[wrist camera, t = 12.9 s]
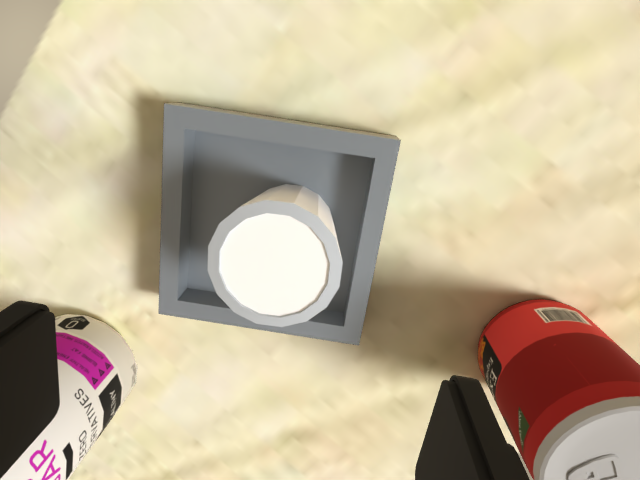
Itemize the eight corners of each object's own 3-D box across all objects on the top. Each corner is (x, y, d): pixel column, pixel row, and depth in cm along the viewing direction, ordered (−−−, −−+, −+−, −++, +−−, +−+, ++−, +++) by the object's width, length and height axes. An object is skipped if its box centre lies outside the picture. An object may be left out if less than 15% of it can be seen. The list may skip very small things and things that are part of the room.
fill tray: (180, 102, 27) (164, 103, 24) (395, 135, 27) (400, 140, 24) (172, 296, 31) (158, 313, 29) (357, 326, 31) (358, 345, 29)
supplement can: (16, 324, 33) (-238, 503, 18) (113, 297, 31) (-79, 467, 17) (67, 410, 35) (-124, 628, 21) (159, 388, 34) (23, 603, 20)
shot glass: (246, 278, 30) (217, 331, 23) (231, 178, 27) (194, 205, 21) (347, 272, 29) (347, 325, 22) (339, 170, 27) (337, 195, 20)
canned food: (453, 334, 31) (508, 458, 20) (556, 273, 29) (675, 374, 18) (508, 407, 32) (585, 555, 22) (610, 353, 31) (746, 488, 20)
